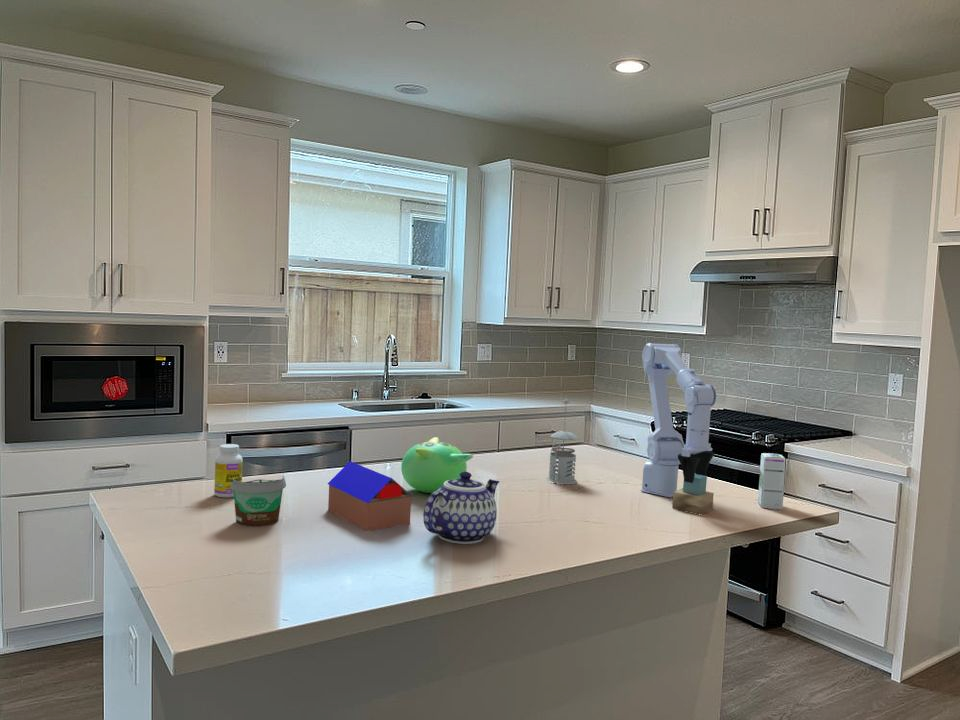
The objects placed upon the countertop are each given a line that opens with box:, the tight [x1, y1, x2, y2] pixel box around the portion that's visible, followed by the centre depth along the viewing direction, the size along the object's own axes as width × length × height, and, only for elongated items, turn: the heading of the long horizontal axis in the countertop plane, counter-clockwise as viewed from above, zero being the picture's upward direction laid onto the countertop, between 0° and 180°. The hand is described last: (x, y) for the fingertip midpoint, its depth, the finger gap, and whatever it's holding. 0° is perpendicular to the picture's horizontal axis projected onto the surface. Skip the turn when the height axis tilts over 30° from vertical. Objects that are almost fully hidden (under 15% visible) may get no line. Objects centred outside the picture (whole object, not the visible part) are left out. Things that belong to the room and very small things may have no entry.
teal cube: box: [682, 474, 708, 495], centre depth 195 cm, size 4×4×4 cm
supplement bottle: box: [213, 443, 244, 499], centre depth 186 cm, size 7×7×13 cm
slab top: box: [672, 487, 715, 507], centre depth 195 cm, size 8×8×2 cm
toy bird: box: [400, 436, 474, 494], centre depth 199 cm, size 18×17×15 cm
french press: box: [546, 399, 578, 485], centre depth 219 cm, size 10×12×25 cm
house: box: [327, 461, 414, 532], centre depth 173 cm, size 12×20×12 cm, turn 38°
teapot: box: [423, 471, 500, 545], centre depth 161 cm, size 25×15×15 cm, turn 139°
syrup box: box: [757, 452, 786, 511], centre depth 201 cm, size 6×6×14 cm
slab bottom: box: [671, 500, 714, 516], centre depth 195 cm, size 8×8×2 cm
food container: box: [230, 475, 287, 528], centre depth 163 cm, size 12×6×10 cm, turn 118°
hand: (694, 479), depth 195 cm, fingers open, 7 cm apart
